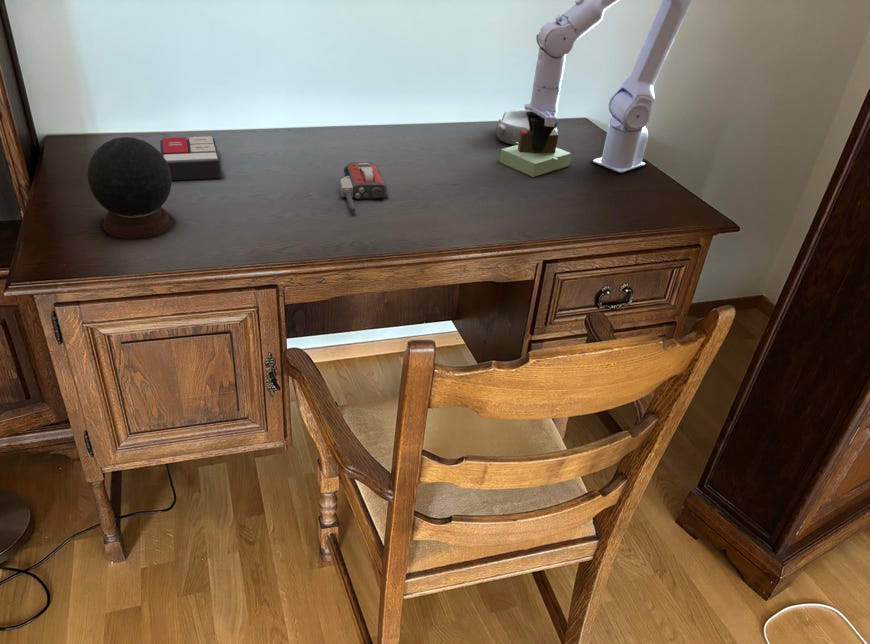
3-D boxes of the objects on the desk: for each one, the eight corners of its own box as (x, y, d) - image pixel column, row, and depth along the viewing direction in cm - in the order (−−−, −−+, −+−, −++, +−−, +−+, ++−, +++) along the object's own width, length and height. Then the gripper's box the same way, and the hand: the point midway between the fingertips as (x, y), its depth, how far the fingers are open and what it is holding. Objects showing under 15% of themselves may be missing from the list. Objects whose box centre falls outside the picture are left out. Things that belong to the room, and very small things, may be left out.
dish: (496, 146, 173) (499, 125, 170) (491, 127, 185) (493, 106, 182) (557, 150, 174) (561, 129, 171) (548, 130, 185) (552, 110, 182)
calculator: (214, 134, 157) (219, 156, 145) (215, 154, 160) (221, 178, 148) (159, 136, 154) (160, 159, 142) (162, 156, 157) (163, 181, 145)
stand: (531, 150, 173) (533, 137, 171) (572, 167, 166) (575, 153, 164) (495, 160, 166) (497, 146, 164) (536, 179, 159) (538, 164, 157)
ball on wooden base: (100, 245, 123) (83, 157, 114) (94, 212, 132) (77, 128, 123) (183, 235, 127) (172, 150, 119) (170, 204, 137) (160, 123, 128)
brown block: (552, 149, 166) (556, 130, 163) (555, 153, 164) (558, 134, 161) (517, 148, 165) (520, 129, 162) (519, 152, 163) (522, 133, 160)
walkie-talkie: (334, 174, 153) (347, 216, 138) (334, 154, 151) (347, 194, 135) (376, 174, 155) (393, 215, 139) (377, 153, 153) (395, 193, 137)
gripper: (521, 74, 161) (512, 136, 169) (536, 94, 150) (525, 160, 158) (553, 76, 162) (542, 137, 170) (570, 96, 150) (558, 161, 158)
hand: (536, 148), depth 164 cm, fingers closed on brown block, 2 cm apart
